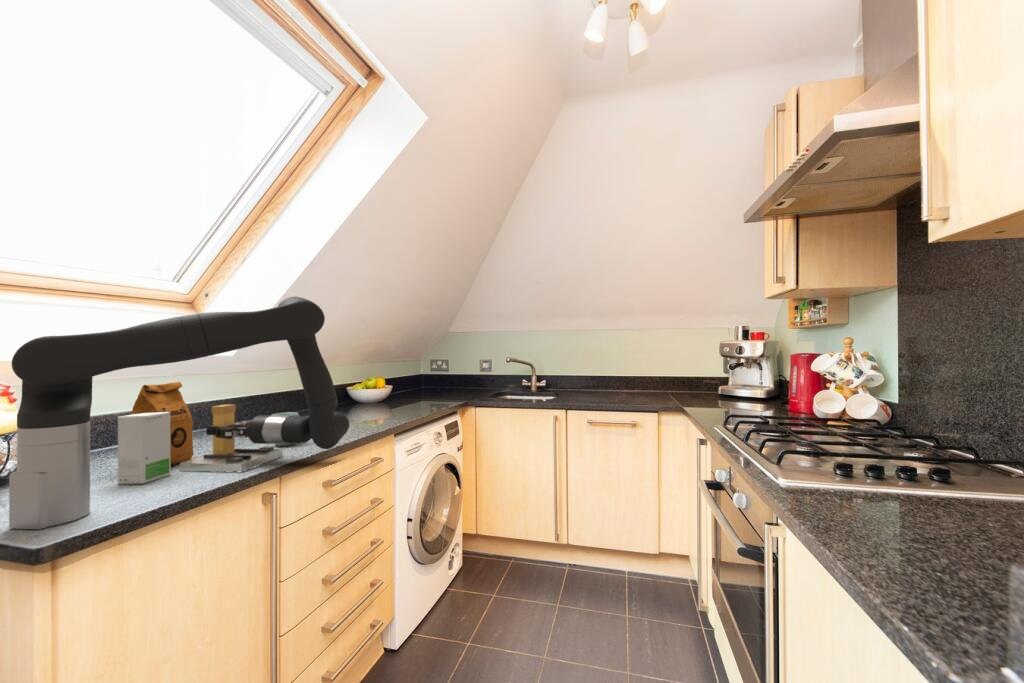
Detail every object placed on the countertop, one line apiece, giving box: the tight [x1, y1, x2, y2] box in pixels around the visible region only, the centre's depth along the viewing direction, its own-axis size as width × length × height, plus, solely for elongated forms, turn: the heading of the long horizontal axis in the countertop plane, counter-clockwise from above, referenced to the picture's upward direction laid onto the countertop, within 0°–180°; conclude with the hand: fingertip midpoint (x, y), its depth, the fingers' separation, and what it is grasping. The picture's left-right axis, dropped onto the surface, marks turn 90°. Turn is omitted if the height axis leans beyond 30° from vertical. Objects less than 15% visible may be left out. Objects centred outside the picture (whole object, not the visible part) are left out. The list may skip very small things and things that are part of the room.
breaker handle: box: [211, 404, 237, 455], centre depth 119 cm, size 4×3×13 cm
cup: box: [271, 411, 300, 447], centre depth 140 cm, size 8×8×10 cm
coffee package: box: [131, 381, 194, 466], centre depth 117 cm, size 10×12×22 cm
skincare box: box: [117, 412, 172, 485], centre depth 104 cm, size 8×7×16 cm
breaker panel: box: [179, 446, 283, 473], centre depth 118 cm, size 16×17×3 cm
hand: (214, 429), depth 119 cm, fingers closed on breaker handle, 4 cm apart
